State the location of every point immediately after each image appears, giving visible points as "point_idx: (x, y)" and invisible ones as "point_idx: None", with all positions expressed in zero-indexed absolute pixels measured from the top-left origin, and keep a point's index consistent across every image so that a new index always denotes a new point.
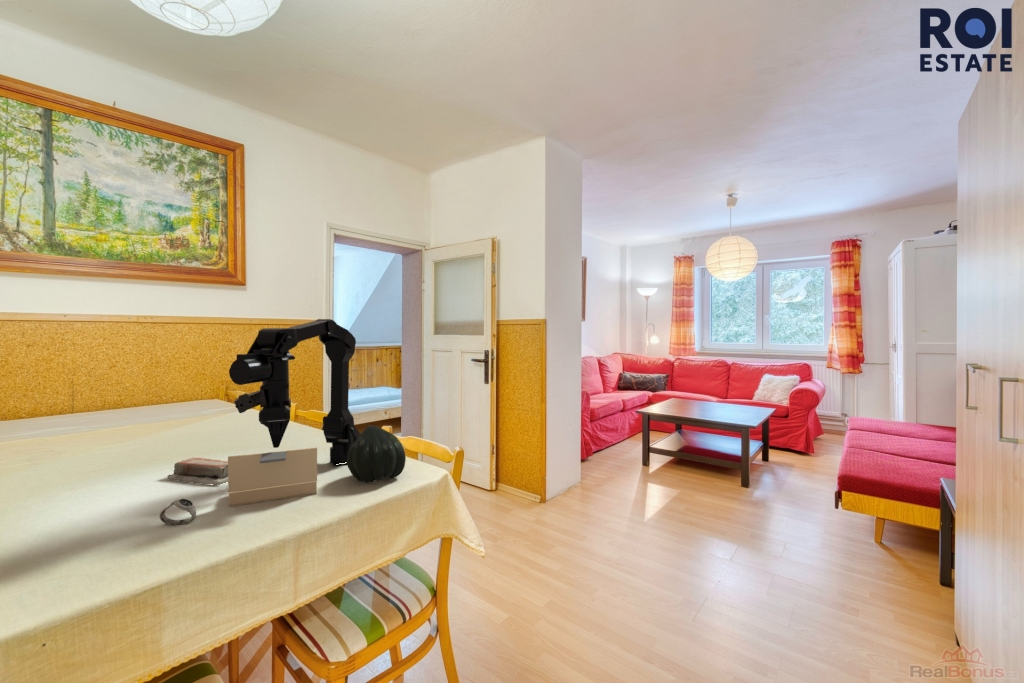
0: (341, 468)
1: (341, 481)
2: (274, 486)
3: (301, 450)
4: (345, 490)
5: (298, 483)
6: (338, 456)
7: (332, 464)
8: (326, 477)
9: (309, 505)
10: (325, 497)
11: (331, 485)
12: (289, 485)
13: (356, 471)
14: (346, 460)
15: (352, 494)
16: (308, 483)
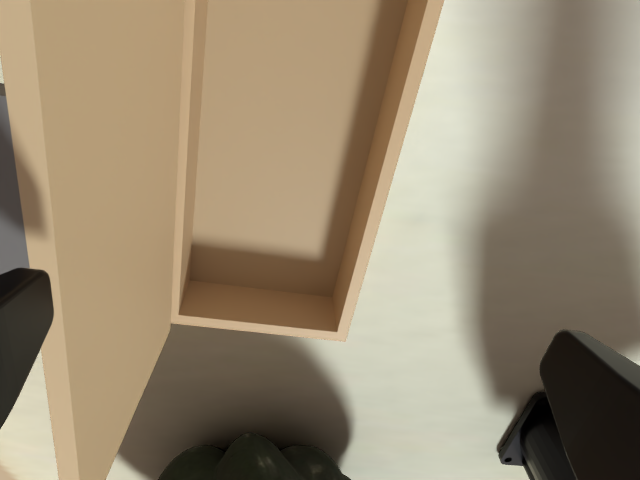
0: (478, 409)
1: (296, 383)
2: (378, 125)
3: (59, 438)
4: (164, 376)
5: (181, 246)
6: (556, 445)
7: (543, 396)
8: (396, 347)
9: None
10: None
11: (266, 346)
12: None
13: (217, 468)
14: (524, 448)
15: None
16: None
